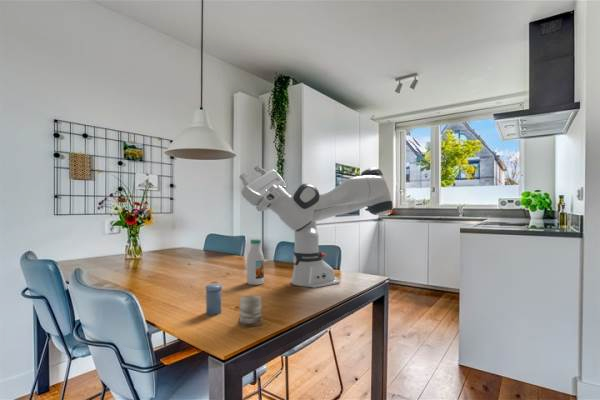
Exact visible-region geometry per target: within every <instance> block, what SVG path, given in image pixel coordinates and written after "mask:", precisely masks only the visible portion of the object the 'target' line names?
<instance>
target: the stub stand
mask: <svg viewBox="0 0 600 400" xmlns="http://www.w3.org/2000/svg"><path fill="white" fill-rule="evenodd" d="M262 309H263V307H262V297H261V296H259V295H252V294H251V295H244V296H242V297H240V298H239V317H238V321H239V323H240V325H241V327H242V329H246V328H252V327H258V326H263V324H264V323H263V320H262V313H263V312H262Z"/></svg>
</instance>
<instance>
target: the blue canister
mask: <svg viewBox="0 0 600 400" xmlns="http://www.w3.org/2000/svg"><path fill="white" fill-rule="evenodd" d="M222 290H223V285H222V284H221V283H211V284H210V283H209V284H207V285H205V291H206V293H205V296H206V300H205V301H206V304H205V305H206V307H205V311H206V312H205V313H206V314H205V315H206V316H210V315H213V316H218V315H220V314H222Z"/></svg>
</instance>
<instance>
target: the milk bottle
mask: <svg viewBox="0 0 600 400" xmlns="http://www.w3.org/2000/svg"><path fill="white" fill-rule="evenodd" d="M261 241H262V240H261V239H259V238H254V239H253V238H252V239H250V249H249V251H248V254H247V256H246V257H247V258H246V260H247V261H246V283H247V285H251V286H258V285H262V284H264V283H265V256H264V253H263V251H262V249H261V243H262V242H261Z"/></svg>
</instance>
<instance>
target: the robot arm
mask: <svg viewBox="0 0 600 400" xmlns="http://www.w3.org/2000/svg"><path fill="white" fill-rule="evenodd" d="M253 170H254V171H255V172H256V173H260V174H261V176H259V177H257V178H256V179H254V180H253V181H250V180H248V179H247V177H248V176H247V175H246V174H245V173H241V174H240V175H239V179H240V180H241V181H242V184H243V186H244V187H243V188H242V190H241V191H240V193H241V196H242V197H243V198H244V199H245V200H246V201H247V203H249V204H250V205H251V206H254V207H255V209H256V210H257V211H258V212H263V211H267V210H271V212H273V213H275V214H276V215H277V216H278V217H279V219H280V220H281V221H282V222H283V223H284V224H285V225H286V226H287V227H288V228H290V230H292V231H294V251H293V256H292V257H293V260H292V261H293V272H292V277H291V280H290V283H291V284H292V285H293V286H294V285H295V286H298V287H299V286H300V287H309V288H313V289H314V288H320V287H326V286H331V285H332V286H333V285H336V284H340V283H341V282H340V279H339V278H338V277H336V276H335V275H336V274H335V271H334V268H333V267H332V266H330V264H328V263H327V262H326V261H325V260H323V258H326V257H327V253H324V252H320V251H319V231H318V227H317V222H319V221H323V220H325V219H328V218H332V217H337V216H341V215H344V214H349V213H354V212H357V211H359V210H362V209H364V210H365V211H367V212H368V213H370V214H371V215H374V216H384V215H386V214H388V213H389V212H390V211H392V210H393V208H394V207H393V206H394V205H393V201H392V199H391V192H390V189H389V187H388V185H387V181H386V180H385V177H384V176H383V175H384V174H383V172H382V171H381V169H380V168H378V167H370V168H367V169H365V170H363V171H362V172H361V173H360V175H357V176H353V177H350V178H348V179H345V180H343V181H342V182H341V183H340V184H338V185H337V186H336V187H335V188H333V189H332V190H330V191H328V192H324V193H320V191H319V190H318V188H317V187H316V186H315V185H313V184H311V183H309V182H306V183H302V184H300V185H299V186H298V187H297V188H296V189H295V190H294V191H293V192H292V194H289V193H288V192H287V190H286V189H287V184H286V182H285V180H284V178H283V177H282V176H281V175H280V173H278V171H277V170H275V169H271V170H269V171H267V170H266V169H264V168H262V167H260V166H259V165H256V166H255V167H254V168H253Z"/></svg>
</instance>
